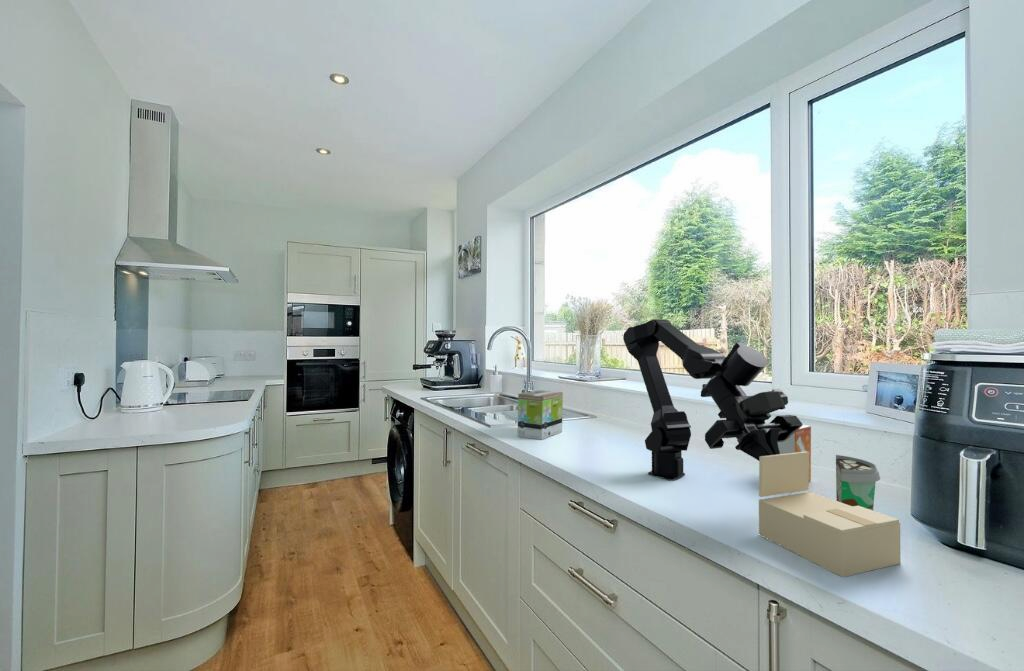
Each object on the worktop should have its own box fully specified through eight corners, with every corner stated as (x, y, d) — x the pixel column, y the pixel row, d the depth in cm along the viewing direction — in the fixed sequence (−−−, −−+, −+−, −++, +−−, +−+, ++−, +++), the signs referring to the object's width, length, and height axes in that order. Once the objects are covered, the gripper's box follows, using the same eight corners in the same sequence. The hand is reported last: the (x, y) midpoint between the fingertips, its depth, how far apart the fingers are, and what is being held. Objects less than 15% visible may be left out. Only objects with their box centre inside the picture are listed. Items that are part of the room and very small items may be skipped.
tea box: (542, 440, 145) (542, 395, 146) (516, 437, 151) (516, 393, 151) (563, 432, 158) (563, 390, 158) (538, 429, 164) (538, 389, 164)
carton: (758, 534, 76) (758, 496, 76) (811, 525, 79) (811, 488, 79) (842, 577, 62) (842, 530, 62) (900, 563, 66) (900, 519, 66)
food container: (886, 533, 76) (886, 475, 76) (841, 525, 79) (841, 469, 80) (874, 509, 87) (874, 458, 87) (835, 503, 90) (835, 454, 90)
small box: (795, 487, 99) (795, 429, 100) (766, 480, 105) (765, 424, 105) (812, 481, 104) (811, 425, 104) (783, 474, 109) (783, 421, 109)
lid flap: (761, 496, 76) (758, 495, 76) (808, 490, 79) (805, 488, 80) (761, 457, 76) (759, 456, 76) (809, 452, 79) (806, 451, 80)
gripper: (715, 376, 81) (768, 451, 70) (792, 373, 87) (852, 442, 76) (686, 412, 88) (729, 485, 77) (759, 408, 94) (809, 475, 83)
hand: (781, 471), depth 78 cm, fingers closed, pressing on lid flap
